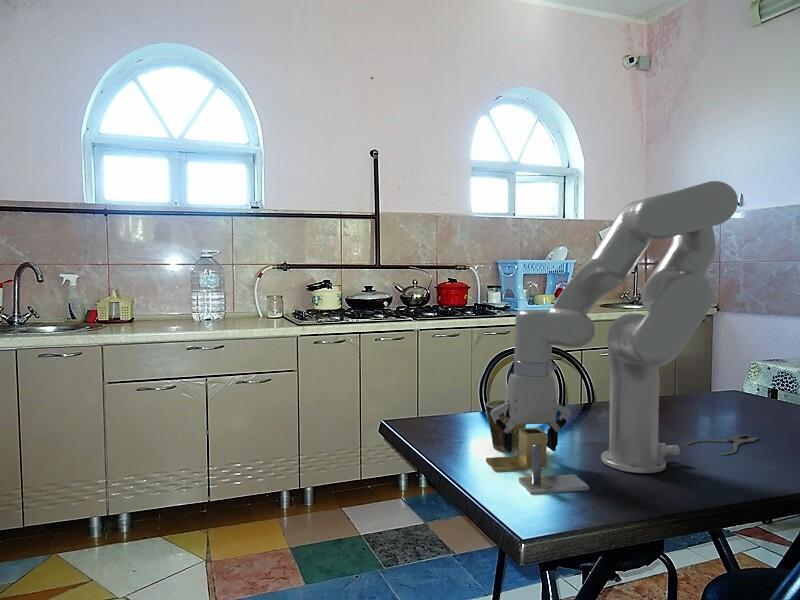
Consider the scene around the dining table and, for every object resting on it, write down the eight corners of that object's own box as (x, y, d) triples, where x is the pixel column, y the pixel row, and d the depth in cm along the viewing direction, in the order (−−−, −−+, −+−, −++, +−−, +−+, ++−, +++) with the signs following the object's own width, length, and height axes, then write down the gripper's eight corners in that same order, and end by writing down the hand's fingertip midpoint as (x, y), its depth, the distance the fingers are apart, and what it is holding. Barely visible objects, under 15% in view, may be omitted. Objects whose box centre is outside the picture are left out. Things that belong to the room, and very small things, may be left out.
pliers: (682, 444, 129) (716, 428, 142) (682, 448, 129) (716, 431, 142) (727, 455, 122) (760, 437, 135) (727, 459, 122) (760, 440, 135)
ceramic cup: (530, 455, 124) (531, 410, 123) (484, 453, 125) (485, 408, 125) (527, 438, 136) (528, 397, 136) (486, 436, 138) (486, 396, 138)
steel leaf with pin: (574, 478, 110) (574, 438, 110) (588, 490, 104) (589, 447, 104) (518, 481, 108) (519, 440, 108) (530, 493, 102) (530, 450, 102)
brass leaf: (536, 458, 121) (537, 426, 121) (548, 468, 115) (548, 434, 115) (486, 461, 120) (486, 429, 119) (494, 471, 114) (494, 437, 113)
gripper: (563, 366, 122) (560, 443, 123) (486, 366, 119) (484, 445, 120) (579, 372, 115) (576, 454, 116) (498, 372, 112) (495, 456, 113)
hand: (529, 449), depth 118 cm, fingers open, 9 cm apart
